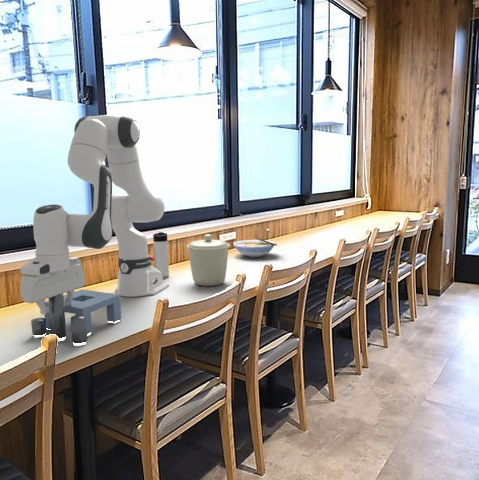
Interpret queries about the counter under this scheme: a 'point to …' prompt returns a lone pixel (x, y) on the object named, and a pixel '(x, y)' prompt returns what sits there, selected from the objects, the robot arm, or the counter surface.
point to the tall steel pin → (57, 315)
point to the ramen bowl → (254, 247)
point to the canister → (208, 260)
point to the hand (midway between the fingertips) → (56, 309)
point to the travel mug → (161, 253)
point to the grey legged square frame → (91, 306)
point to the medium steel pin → (78, 328)
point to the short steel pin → (38, 326)
